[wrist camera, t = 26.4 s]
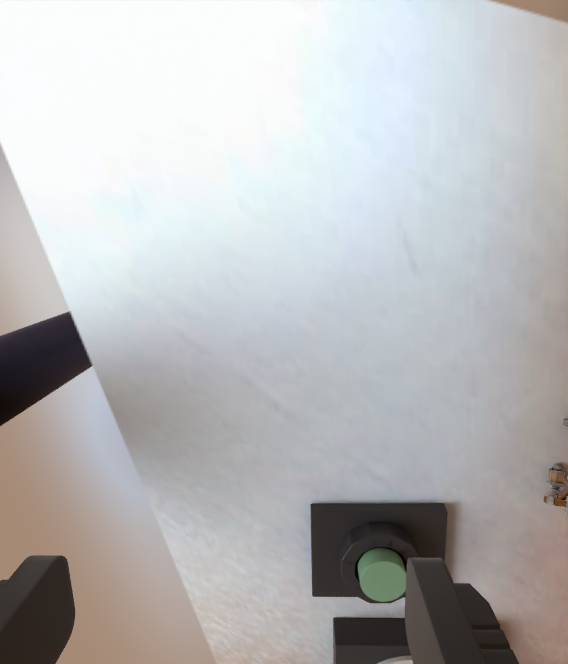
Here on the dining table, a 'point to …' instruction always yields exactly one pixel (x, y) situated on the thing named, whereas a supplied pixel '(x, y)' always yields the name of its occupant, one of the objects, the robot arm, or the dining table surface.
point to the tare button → (382, 574)
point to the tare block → (369, 541)
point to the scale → (370, 641)
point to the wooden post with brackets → (558, 485)
